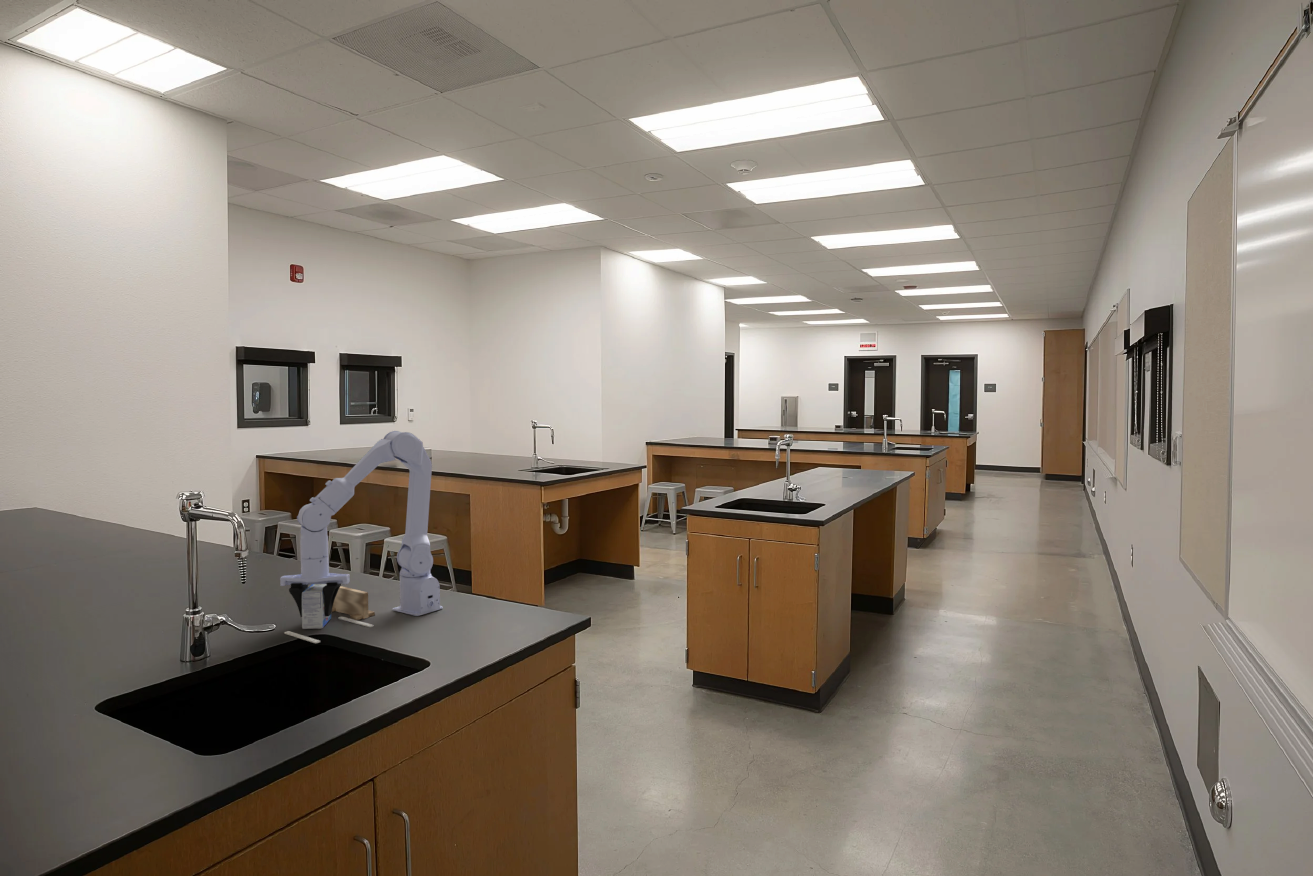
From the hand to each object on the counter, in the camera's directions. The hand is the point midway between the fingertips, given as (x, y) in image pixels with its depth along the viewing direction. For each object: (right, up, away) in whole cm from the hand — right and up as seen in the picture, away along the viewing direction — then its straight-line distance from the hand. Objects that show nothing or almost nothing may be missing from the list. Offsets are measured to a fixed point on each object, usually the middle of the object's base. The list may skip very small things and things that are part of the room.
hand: (316, 615), depth 165 cm
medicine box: (0, -3, +1) cm, 3 cm away
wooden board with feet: (+3, -2, +10) cm, 11 cm away
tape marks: (+4, -3, -3) cm, 6 cm away
